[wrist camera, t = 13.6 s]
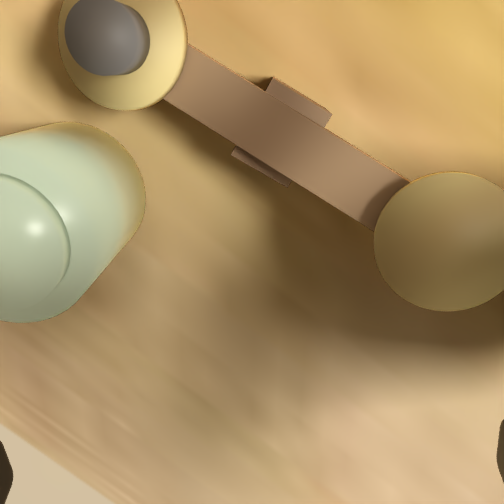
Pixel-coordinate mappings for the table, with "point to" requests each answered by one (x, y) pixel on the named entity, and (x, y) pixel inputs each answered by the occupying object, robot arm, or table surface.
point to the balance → (295, 149)
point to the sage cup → (62, 215)
